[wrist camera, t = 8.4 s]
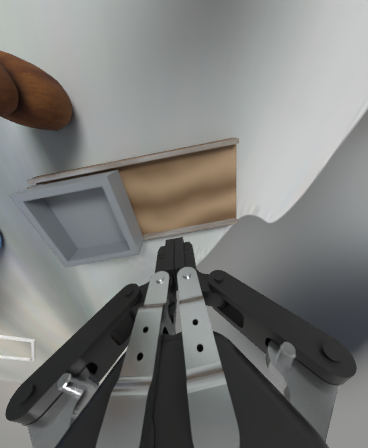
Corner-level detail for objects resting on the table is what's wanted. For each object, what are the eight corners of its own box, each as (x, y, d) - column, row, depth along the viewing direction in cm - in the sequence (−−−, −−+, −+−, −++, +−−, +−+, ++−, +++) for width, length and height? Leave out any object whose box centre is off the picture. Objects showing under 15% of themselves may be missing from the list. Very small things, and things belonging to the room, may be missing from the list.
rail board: (38, 176, 24) (21, 180, 21) (233, 137, 23) (241, 137, 20) (82, 245, 31) (74, 255, 28) (233, 218, 30) (239, 225, 27)
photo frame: (-43, 333, 41) (33, 342, 46) (-38, 328, 42) (36, 338, 47) (-33, 356, 48) (33, 362, 52) (-29, 352, 49) (36, 358, 53)
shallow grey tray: (45, 182, 23) (8, 195, 18) (121, 167, 23) (106, 176, 18) (84, 244, 29) (65, 267, 24) (145, 233, 29) (139, 254, 23)
